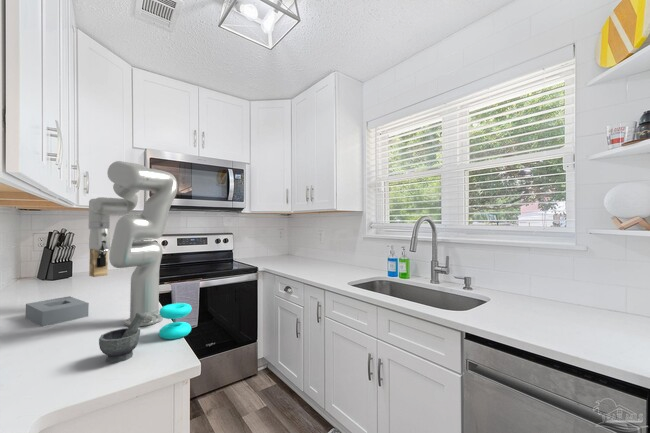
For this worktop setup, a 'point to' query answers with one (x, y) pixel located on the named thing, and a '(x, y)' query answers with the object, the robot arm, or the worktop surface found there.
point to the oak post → (93, 268)
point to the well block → (56, 310)
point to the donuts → (175, 328)
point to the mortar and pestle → (121, 341)
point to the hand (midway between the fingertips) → (98, 265)
